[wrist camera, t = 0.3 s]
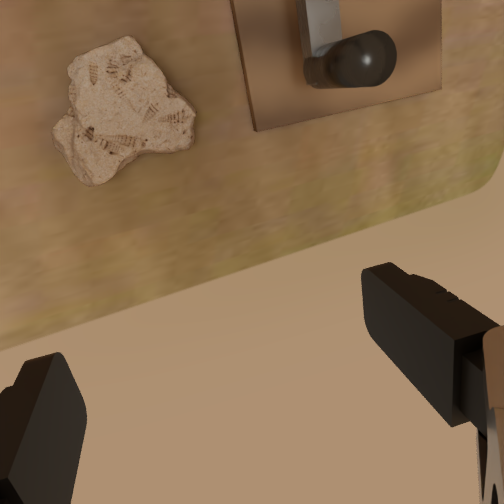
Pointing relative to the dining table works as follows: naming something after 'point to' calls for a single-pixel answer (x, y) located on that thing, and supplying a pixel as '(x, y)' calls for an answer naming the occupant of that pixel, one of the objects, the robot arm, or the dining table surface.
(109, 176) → the stone
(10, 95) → the dining table surface
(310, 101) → the board
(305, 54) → the lever
